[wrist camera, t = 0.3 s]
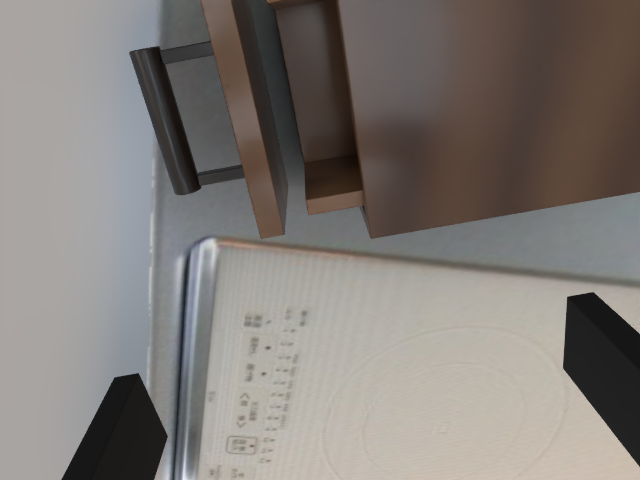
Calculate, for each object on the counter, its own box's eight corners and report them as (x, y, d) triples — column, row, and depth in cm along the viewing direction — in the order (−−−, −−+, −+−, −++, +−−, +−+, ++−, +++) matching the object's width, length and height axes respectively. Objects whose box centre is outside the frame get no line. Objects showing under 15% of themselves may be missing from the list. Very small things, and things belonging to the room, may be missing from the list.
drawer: (204, 200, 29) (174, 254, 22) (145, 4, 25) (83, -6, 18) (479, 150, 29) (538, 190, 22) (474, -61, 24) (547, -98, 17)
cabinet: (349, 179, 30) (370, 239, 21) (316, -41, 25) (325, -79, 16) (571, 138, 30) (685, 184, 21) (585, -94, 24) (745, -163, 16)
